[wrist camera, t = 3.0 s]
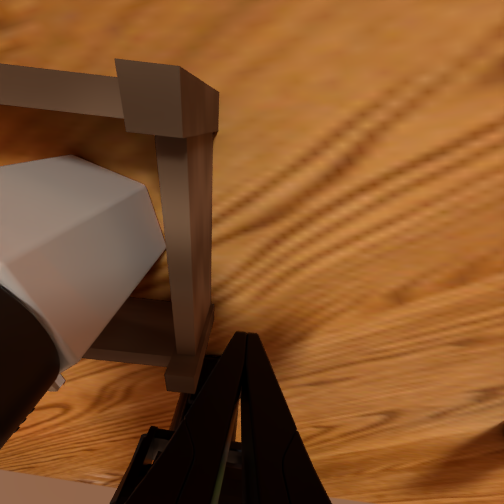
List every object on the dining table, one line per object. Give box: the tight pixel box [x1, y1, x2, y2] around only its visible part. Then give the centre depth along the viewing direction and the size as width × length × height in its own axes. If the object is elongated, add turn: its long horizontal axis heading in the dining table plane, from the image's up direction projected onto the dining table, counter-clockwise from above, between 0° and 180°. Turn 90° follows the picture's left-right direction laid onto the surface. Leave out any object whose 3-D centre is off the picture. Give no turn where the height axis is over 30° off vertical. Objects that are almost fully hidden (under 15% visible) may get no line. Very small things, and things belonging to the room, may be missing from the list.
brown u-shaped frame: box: [0, 59, 219, 394], centre depth 13 cm, size 17×13×6 cm
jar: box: [0, 155, 166, 449], centre depth 11 cm, size 9×8×12 cm
